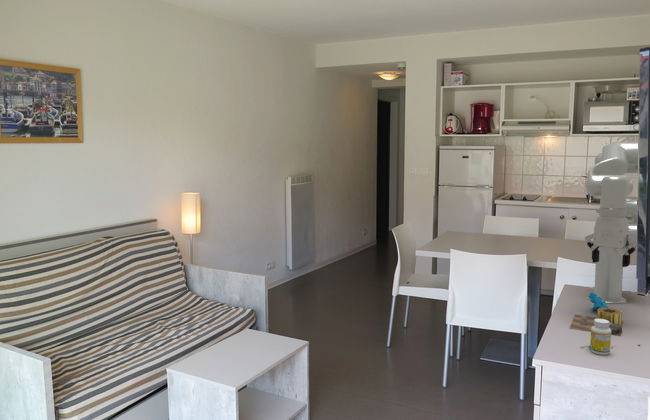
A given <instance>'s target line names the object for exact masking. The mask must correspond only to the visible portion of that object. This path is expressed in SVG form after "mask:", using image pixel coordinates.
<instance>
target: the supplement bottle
mask: <svg viewBox="0 0 650 420" xmlns="http://www.w3.org/2000/svg"><path fill="white" fill-rule="evenodd" d="M594 325H595V326H593V327H592V328H591V332H590V346H589V347H590V348H589V349H590V352H592V353H593V354H596V355H601V356H605V355H606V356H607V355H610V354H611V349H612V347H611V345H612V335H611V329H610V328H609V321H608V320H605V319H594Z"/></svg>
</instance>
